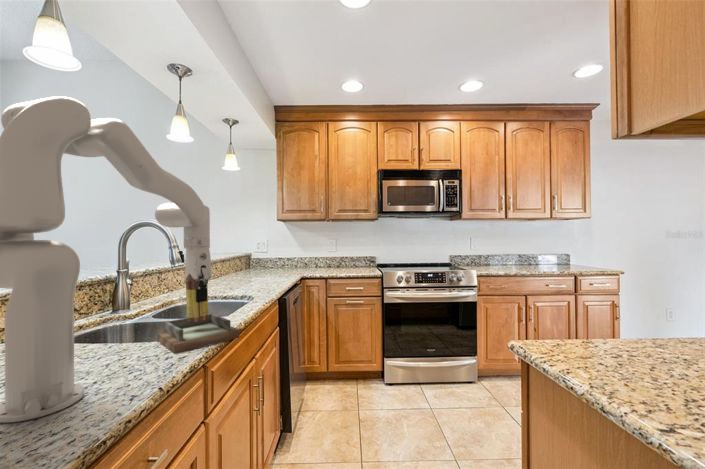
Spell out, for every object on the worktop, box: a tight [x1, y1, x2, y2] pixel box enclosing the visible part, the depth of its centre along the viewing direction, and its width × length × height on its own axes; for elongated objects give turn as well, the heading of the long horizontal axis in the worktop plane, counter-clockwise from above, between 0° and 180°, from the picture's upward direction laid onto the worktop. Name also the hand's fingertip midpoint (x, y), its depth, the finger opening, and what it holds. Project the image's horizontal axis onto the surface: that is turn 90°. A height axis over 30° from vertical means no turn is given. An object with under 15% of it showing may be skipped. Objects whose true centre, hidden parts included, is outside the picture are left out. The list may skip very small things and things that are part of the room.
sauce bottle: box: [185, 274, 210, 322], centre depth 101 cm, size 6×6×20 cm
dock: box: [156, 313, 240, 355], centre depth 100 cm, size 16×19×6 cm
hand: (197, 299), depth 101 cm, fingers closed on sauce bottle, 6 cm apart
